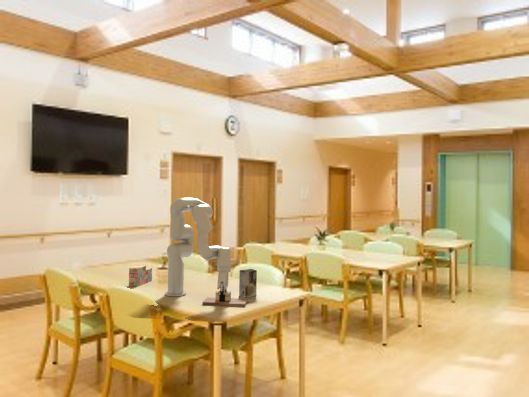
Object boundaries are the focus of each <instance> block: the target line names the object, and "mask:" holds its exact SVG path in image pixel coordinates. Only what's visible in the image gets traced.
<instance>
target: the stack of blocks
mask: <svg viewBox="0 0 529 397" xmlns="http://www.w3.org/2000/svg"><path fill="white" fill-rule="evenodd" d="M152 281H153V267H147V265H144V264H143V265H141V264H138V265H135V266H131V267H129V268H128V287H134V288H137V287H141V286H143V285H145V284H148V283H150V282H152Z"/></svg>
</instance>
